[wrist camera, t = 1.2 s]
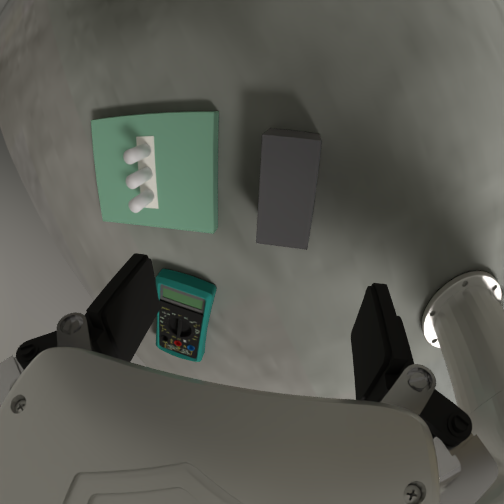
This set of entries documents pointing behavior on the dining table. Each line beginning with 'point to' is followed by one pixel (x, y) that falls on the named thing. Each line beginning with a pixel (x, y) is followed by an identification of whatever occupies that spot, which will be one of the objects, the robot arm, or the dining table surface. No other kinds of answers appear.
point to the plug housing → (287, 187)
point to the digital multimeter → (183, 314)
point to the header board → (158, 169)
